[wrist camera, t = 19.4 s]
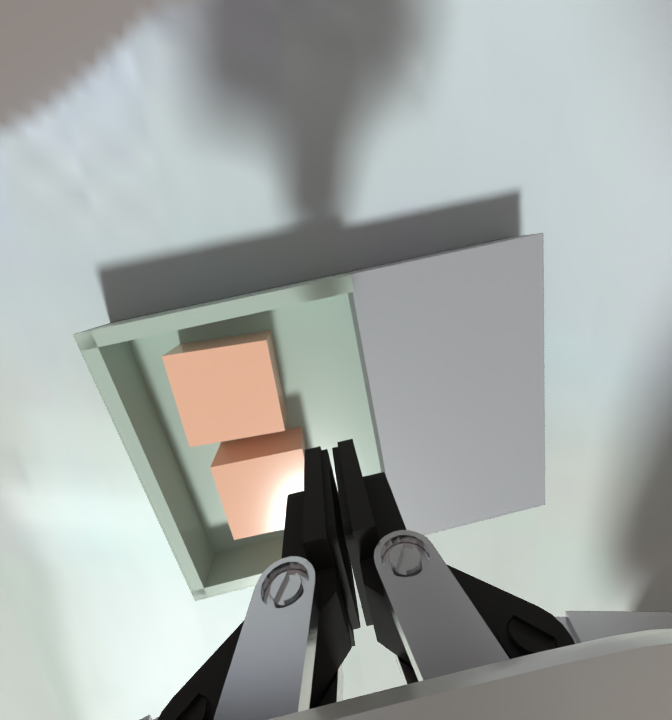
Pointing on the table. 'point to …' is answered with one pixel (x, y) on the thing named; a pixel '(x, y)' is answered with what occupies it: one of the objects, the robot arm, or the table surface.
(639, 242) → the table surface
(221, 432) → the tile near
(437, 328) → the deck
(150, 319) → the tray
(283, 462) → the tile far
